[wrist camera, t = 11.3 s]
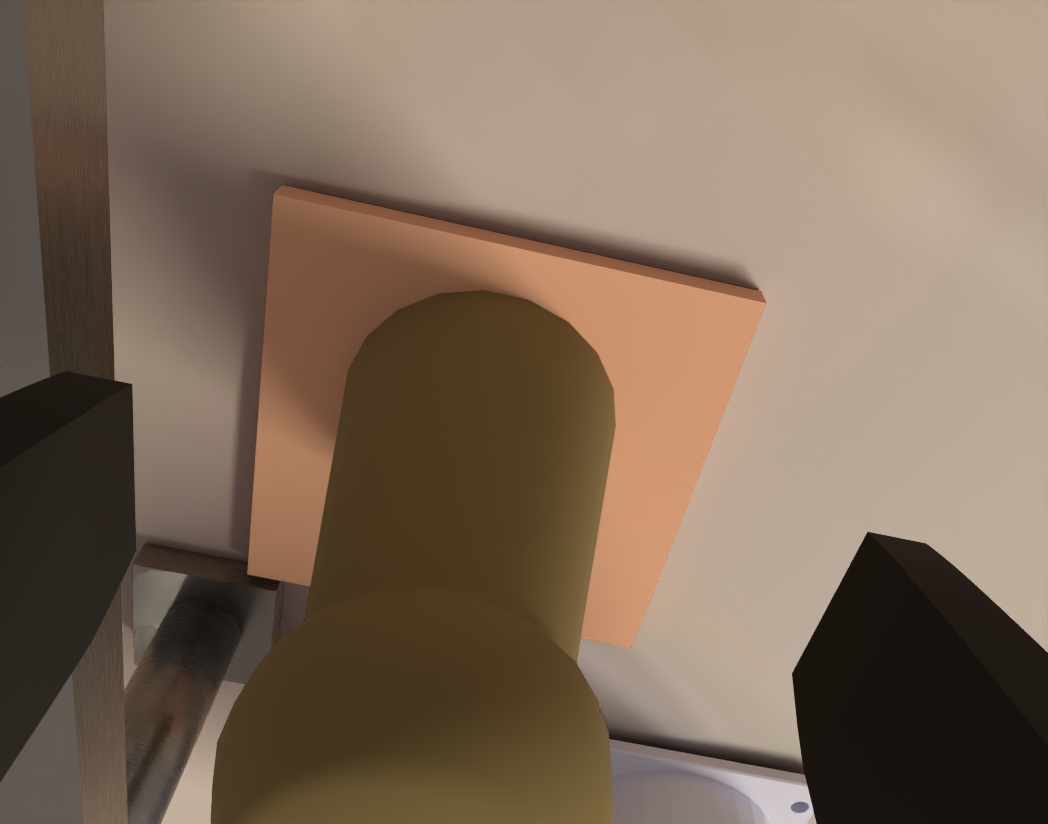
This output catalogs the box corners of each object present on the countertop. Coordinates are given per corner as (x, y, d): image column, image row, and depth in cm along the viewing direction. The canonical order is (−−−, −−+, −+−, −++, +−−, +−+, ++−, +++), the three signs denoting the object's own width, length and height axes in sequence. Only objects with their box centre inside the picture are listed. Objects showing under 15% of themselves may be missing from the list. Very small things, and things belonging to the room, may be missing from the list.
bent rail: (1012, 801, 26) (1187, 1169, 19) (146, 642, 25) (-41, 977, 17) (1731, -88, 14) (3000, -47, 7) (133, -527, 13) (-515, -1121, 5)
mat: (630, 631, 24) (631, 648, 23) (254, 558, 23) (247, 574, 22) (761, 291, 19) (766, 303, 18) (281, 184, 18) (273, 194, 17)
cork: (287, 376, 19) (18, 848, 10) (519, 235, 18) (459, 656, 8) (447, 560, 22) (352, 1077, 12) (666, 455, 20) (749, 969, 11)
